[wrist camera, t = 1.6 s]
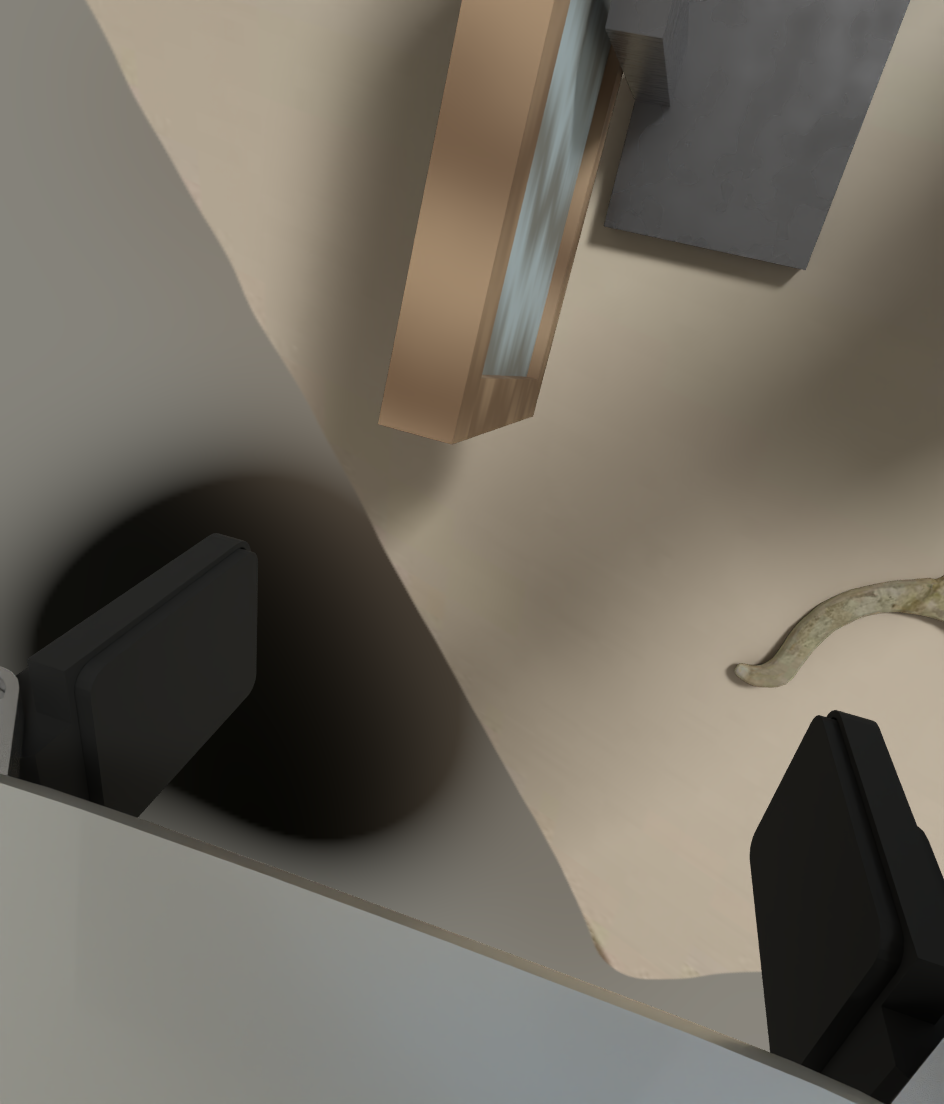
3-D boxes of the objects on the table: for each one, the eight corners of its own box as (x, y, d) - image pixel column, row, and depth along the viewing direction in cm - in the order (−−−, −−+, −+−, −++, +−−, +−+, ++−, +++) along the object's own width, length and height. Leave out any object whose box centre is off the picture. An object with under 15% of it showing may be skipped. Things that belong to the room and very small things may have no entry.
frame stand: (690, -110, 36) (697, -387, 19) (934, -76, 34) (1170, -349, 18) (606, 225, 43) (559, 232, 27) (801, 268, 42) (879, 302, 25)
